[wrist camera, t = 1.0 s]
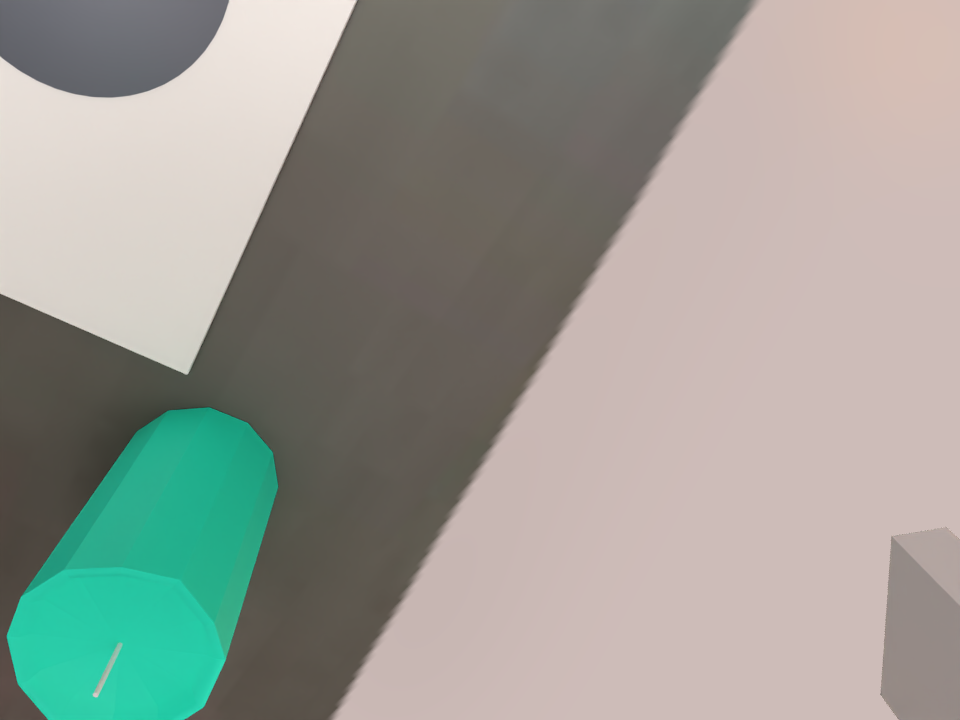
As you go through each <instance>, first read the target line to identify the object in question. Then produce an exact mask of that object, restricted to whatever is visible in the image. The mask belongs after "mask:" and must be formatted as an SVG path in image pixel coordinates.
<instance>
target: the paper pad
mask: <svg viewBox="0 0 960 720" xmlns="http://www.w3.org/2000/svg"><path fill="white" fill-rule="evenodd" d="M357 1H358V0H0V294H2V295H5V296H7V297H9V298H12V299H14V300H16V301H19V302H21V303H23V304H25V305H28V306H30V307H32V308H35V309H37V310H39V311H42V312H44V313H46V314H48V315H51V316H53V317H55V318H58V319H60V320H62V321H65V322H67V323H69V324H71V325H74V326H76V327H78V328H81V329H83V330H85V331H88V332H90V333H92V334H94V335H97V336H99V337H101V338H104V339H106V340H108V341H111V342H113V343H115V344H117V345H120V346H122V347H124V348H127V349H129V350H131V351H133V352H136V353H138V354H140V355H143V356H145V357H147V358H150V359H152V360H154V361H156V362H159V363H161V364H163V365H166V366H168V367H170V368H173V369H175V370H177V371H179V372H182V373H184V374H186V375H187V374H188V373H189V371H190V370H191V368H192V365H193V363H194V361H195V359H196V356H197V354H198V352H199V350H200V348H201V345H202V343H203V341H204V339H205V337H206V334H207V332H208V330H209V328H210V326H211V323H212V321H213V319H214V317H215V314H216V312H217V310H218V308H219V306H220V303H221V301H222V299H223V297H224V295H225V292H226V290H227V288H228V286H229V284H230V281H231V279H232V277H233V275H234V272H235V270H236V268H237V266H238V264H239V261H240V259H241V257H242V255H243V253H244V250H245V248H246V246H247V244H248V242H249V239H250V237H251V235H252V233H253V230H254V228H255V226H256V224H257V222H258V219H259V217H260V215H261V213H262V211H263V208H264V206H265V204H266V202H267V200H268V197H269V195H270V193H271V191H272V188H273V186H274V184H275V182H276V180H277V177H278V175H279V173H280V171H281V169H282V166H283V164H284V162H285V160H286V158H287V155H288V153H289V151H290V149H291V146H292V144H293V142H294V140H295V138H296V135H297V133H298V131H299V129H300V127H301V124H302V122H303V120H304V118H305V116H306V113H307V111H308V109H309V107H310V104H311V102H312V100H313V98H314V96H315V93H316V91H317V89H318V87H319V85H320V82H321V80H322V78H323V76H324V74H325V71H326V69H327V67H328V65H329V62H330V60H331V58H332V56H333V54H334V51H335V49H336V47H337V45H338V43H339V40H340V38H341V36H342V34H343V32H344V29H345V27H346V25H347V23H348V21H349V18H350V16H351V14H352V12H353V9H354V7H355V5H356V3H357Z"/></svg>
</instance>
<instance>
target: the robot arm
mask: <svg viewBox="0 0 960 720" xmlns="http://www.w3.org/2000/svg"><path fill="white" fill-rule="evenodd" d="M885 625H886V626H885V639H884V654H883V667H882V681H881V696H882V697H883V699H884V700H885V702H886V703H887V704H888V705H889V707H890V708H891V710H892V711H893V713H894V714H895V715H896V717H897V718H898V719H899V720H960V539H959V538H958V537H957V536H955V535H954V534H953V533H952V532H951V531H950V530H949V529H948V528H940V529H934V530H927V531H921V532H915V533H909V534H902V535H897V536H892V539H891V554H890V567H889V581H888V595H887V611H886V624H885Z"/></svg>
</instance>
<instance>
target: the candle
mask: <svg viewBox="0 0 960 720" xmlns="http://www.w3.org/2000/svg"><path fill="white" fill-rule="evenodd" d="M277 489H278V482H277V475H276V469H275V463H274V456H273V452H272V451H271V449H270V448H269V447H268V446H267V445H266V444H265V442H264V441H263V440H262V439H261V438H260V437H259V435H258V434H257V433H256V432H255V431H254V430H253V428H252V427H251V426H250V425H249V424H248V423H247V422H244V421H242V420H240V419H237V418H235V417H232V416H230V415H227V414H225V413H222V412H220V411H217V410H215V409H212V408H210V407H206V408H193V409H180V410H168V411H167V412H165V413H164V414H162V415H161V416H159V417H158V418H156V419H155V420H153V421H152V422H150V423H149V424H147V425H146V426H144V427H143V428H141V429H140V430H138V431H137V432H136V433H135V435H134V436H133V437H132V439H131V440H130V442H129V443H128V445H127V446H126V447H125V449H124V450H123V452H122V453H121V455H120V456H119V457H118V459H117V460H116V462H115V463H114V465H113V466H112V468H111V469H110V470H109V472H108V473H107V475H106V476H105V478H104V479H103V480H102V482H101V483H100V485H99V486H98V488H97V489H96V490H95V492H94V493H93V495H92V496H91V498H90V499H89V500H88V502H87V503H86V505H85V506H84V508H83V509H82V510H81V512H80V513H79V515H78V516H77V518H76V519H75V520H74V522H73V523H72V525H71V526H70V528H69V529H68V530H67V532H66V533H65V535H64V536H63V538H62V539H61V540H60V542H59V543H58V545H57V546H56V548H55V549H54V550H53V552H52V553H51V555H50V556H49V558H48V559H47V560H46V562H45V563H44V565H43V566H42V568H41V569H40V570H39V572H38V573H37V575H36V576H35V578H34V579H33V581H32V582H31V583H30V585H29V586H28V588H27V589H26V591H25V592H24V593H23V595H22V596H21V598H20V601H19V604H18V607H17V609H16V612H15V615H14V617H13V620H12V623H11V626H10V628H9V631H8V634H7V640H8V644H9V649H10V653H11V657H12V661H13V666H14V670H15V674H16V678H17V683H18V685H19V686H20V687H21V689H22V690H23V691H24V692H25V693H26V694H27V696H28V697H29V698H30V699H31V700H32V701H33V703H34V704H35V705H36V706H37V707H38V708H39V710H40V711H41V712H42V713H43V714H44V715H45V717H46V718H47V719H48V720H184V719H186V718H188V717H189V716H191V715H192V714H194V713H195V712H197V711H199V710H200V709H202V708H203V707H204V706H205V704H206V701H207V699H208V697H209V695H210V693H211V691H212V688H213V686H214V684H215V682H216V680H217V678H218V675H219V673H220V671H221V669H222V667H223V665H224V662H225V660H226V657H227V654H228V651H229V647H230V644H231V641H232V638H233V634H234V631H235V628H236V624H237V621H238V618H239V615H240V611H241V608H242V605H243V601H244V598H245V595H246V592H247V588H248V585H249V582H250V578H251V575H252V572H253V568H254V565H255V562H256V559H257V555H258V552H259V549H260V545H261V542H262V539H263V536H264V532H265V529H266V526H267V522H268V519H269V516H270V512H271V509H272V506H273V503H274V499H275V496H276V493H277Z"/></svg>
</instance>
